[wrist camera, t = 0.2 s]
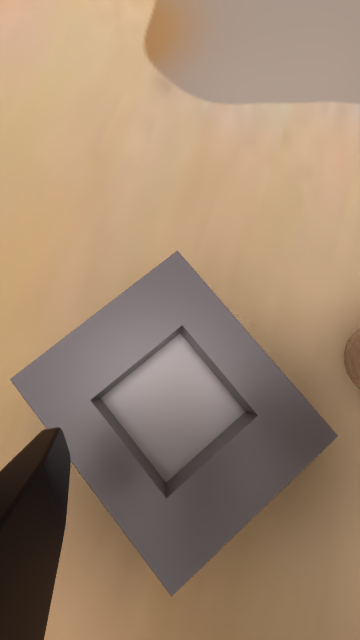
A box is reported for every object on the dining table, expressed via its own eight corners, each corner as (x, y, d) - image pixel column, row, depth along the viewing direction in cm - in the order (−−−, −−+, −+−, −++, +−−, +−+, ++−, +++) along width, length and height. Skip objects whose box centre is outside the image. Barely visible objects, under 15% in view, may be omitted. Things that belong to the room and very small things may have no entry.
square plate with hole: (308, 427, 23) (337, 435, 19) (170, 557, 21) (171, 596, 17) (175, 272, 25) (177, 250, 21) (36, 380, 23) (9, 379, 19)
